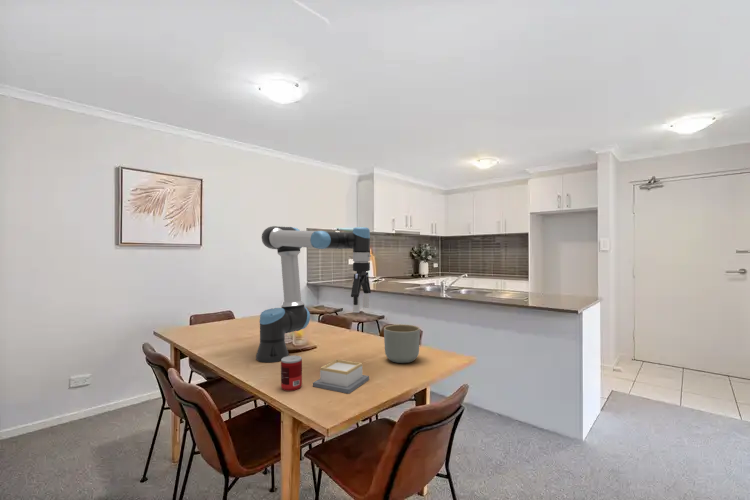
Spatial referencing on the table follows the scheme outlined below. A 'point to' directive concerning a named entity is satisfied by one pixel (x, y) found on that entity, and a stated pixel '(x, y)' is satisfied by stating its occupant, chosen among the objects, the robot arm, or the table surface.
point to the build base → (341, 376)
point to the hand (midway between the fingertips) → (361, 309)
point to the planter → (401, 342)
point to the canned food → (291, 373)
